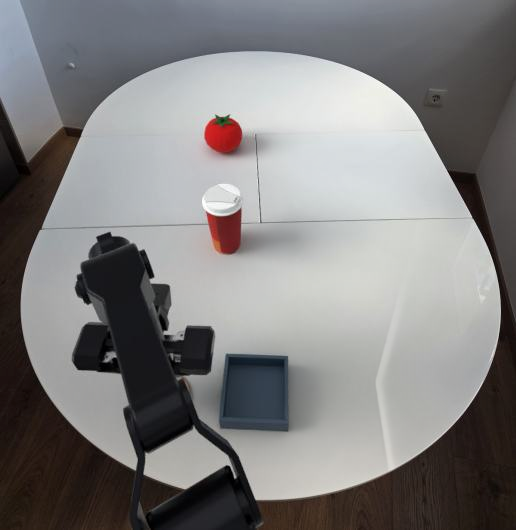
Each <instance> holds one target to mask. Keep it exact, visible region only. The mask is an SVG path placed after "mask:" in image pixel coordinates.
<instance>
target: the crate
mask: <svg viewBox="0 0 516 530" xmlns="http://www.w3.org/2000/svg"><path fill="white" fill-rule="evenodd" d="M221 386H222V387H221V395H220V396H221V397H220V404H219V414H218V423H219V428H220V429H223V430H244V431H245V430H247V431H267V432H289V355H277V354H276V355H275V354H250V353H245V354H244V353H227V352H226V353H225V358H224V368H223V377H222V385H221Z"/></svg>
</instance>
